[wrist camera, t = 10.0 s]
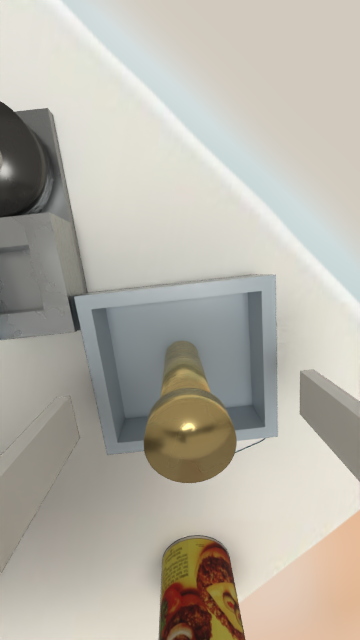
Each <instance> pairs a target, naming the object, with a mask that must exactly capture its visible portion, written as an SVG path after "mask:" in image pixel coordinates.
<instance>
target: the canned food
mask: <svg viewBox="0 0 360 640" xmlns="http://www.w3.org/2000/svg"><path fill="white" fill-rule="evenodd" d="M159 640H245V636H244V630H243V625H242V620H241V615H240V610H239V604H238V599H237V594H236V588H235V583H234V578H233V573H232V567H231V562H230V557H229V554H228V552H227V549H226V548H225V547H224V546H223V545H222V544H221V543H220V542H218V541H217V540H215V539H212V538H209V537H206V536H190V537H186V538H183V539H180V540H178V541H176V542H175V543H173V544H172V545H171V546H170V547H169V548H168V549H167V550H166V552H165V554H164V555H163V560H162V574H161V597H160V619H159Z"/></svg>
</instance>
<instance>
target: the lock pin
mask: <svg viewBox="0 0 360 640" xmlns="http://www.w3.org/2000/svg"><path fill="white" fill-rule="evenodd" d="M236 445H237V438H236V433H235V429H234V427H233V424H232V422H231V419H230V416H229V414H228V411H227V409H226V407H225V406H224V404H223V403H222V402H221V400H220V399H219V398H217V397H216V396H215V395H213V394H212V393H211V392H210V388H209V385H208V382H207V379H206V376H205V372H204V369H203V366H202V363H201V360H200V356H199V353H198V350H197V348H196V347H195V346H194V345H193V344H192V343H190V342H187V341H177V342H174V343H173V344H171V345H170V346H169V347H168V349H167V350H166V354H165V361H164V370H163V379H162V388H161V397H160V399H159V400H158V401H157V402H156V403H155V404H154V406H153V407H152V409H151V411H150V413H149V416H148V420H147V425H146V431H145V436H144V451H145V455H146V458H147V460H148V462H149V463H150V465H151V466H152V467H153V469H154V470H156V471H157V472H158V473H159V474H160V475H162V476H164V477H165V478H167V479H170V480H173V481H176V482H182V483H196V482H201V481H205V480H208V479H210V478H212V477H214V476H216V475H217V474H219V473H220V472H222V471H223V470H224V469H225V468H226V467H227V466H228V464H229V463H230V462H231V460H232V458H233V456H234V454H235V450H236Z"/></svg>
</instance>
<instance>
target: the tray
mask: <svg viewBox="0 0 360 640" xmlns="http://www.w3.org/2000/svg"><path fill="white" fill-rule="evenodd" d="M74 299H75V304H76V308H77V313H78V318H79V323H80V327H81V332H82V337H83V342H84V346H85V351H86V356H87V361H88V365H89V370H90V375H91V380H92V384H93V389H94V394H95V399H96V404H97V408H98V413H99V418H100V423H101V427H102V432H103V437H104V442H105V446H106V451H107V455H111V454H120V453H130V452H139V451H144V436H145V431H146V425H147V420H148V416H149V413H150V411H151V409H152V407H153V406H154V404H155V403H156V402H157V401H158V400H159V399H160V397H161V388H162V379H163V370H164V361H165V354H166V350H167V349H168V347H169V346H170V345H171V344H173V343H174V342H177V341H187V342H190V343H192V344H193V345H194V346H195V347H196V348H197V350H198V353H199V356H200V360H201V363H202V366H203V369H204V372H205V376H206V379H207V382H208V385H209V388H210V392H211V393H212V394H213V395H215V396H216V397H217V398H219V399H220V400H221V402H222V403H223V404H224V406H225V407H226V409H227V411H228V414H229V416H230V419H231V422H232V424H233V427H234V429H235V433H236V438H237V441H241V440H250V439H259V438H269V437H278V422H277V345H276V275H257V274H256V275H247V276H238V277H229V278H220V279H211V280H201V281H192V282H183V283H174V284H165V285H155V286H146V287H137V288H128V289H119V290H110V291H100V292H92V293H88V294H84V295H80V296H75V297H74Z"/></svg>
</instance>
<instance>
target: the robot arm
mask: <svg viewBox="0 0 360 640" xmlns="http://www.w3.org/2000/svg"><path fill="white" fill-rule="evenodd" d="M300 415H301V416H302V417H303V418H304V419H305V420H306V421H307V423H308V424H309V425H310V426H311V427H312V428H313V429H314V431H315V432H316V433H317V434H318V435H319V436H320V437H321V438H322V440H323V441H324V442H325V443H326V444H327V445H328V446H329V447H330V449H331V450H332V451H333V452H334V453H335V454H336V455H337V457H338V458H339V459H340V460H341V461H342V462H343V463H344V464H345V466H346V467H347V468H348V469H349V470H350V471H351V472H352V473H353V475H354V476H355V477H356V478H357V479H358V480H359V481H360V401H358V400H357V399H355V398H354V397H352V396H351V395H350V394H348V393H347V392H345V391H344V390H342V389H341V388H340V387H338V386H337V385H335V384H334V383H332V382H331V381H330V380H328V379H327V378H325V377H324V376H322V375H321V374H319V373H318V372H317V371H315V370H304V371H300ZM79 438H80V437H79V432H78V428H77V424H76V420H75V416H74V411H73V407H72V403H71V399H70V396H65V397H56V398H55V399H54V400H53V401H52V403H51V404H50V405H49V406H48V407H47V408H46V409H45V410H44V411H43V412H42V413H41V414H40V415H39V416H38V417H37V418H36V419H35V420H34V421H33V422H32V423H31V425H30V426H29V427H28V428H27V429H26V430H25V431H24V432H23V433H22V434H21V435H20V436H19V437H18V438H17V439H16V440H15V441H14V442H13V443H12V444H11V445H10V447H9V448H8V449H7V450H6V451H5V452H4V453H3V454H2V455H1V456H0V574H1V573H2V571H3V569H4V567H5V566H6V564H7V562H8V561H9V559H10V557H11V555H12V554H13V552H14V550H15V548H16V547H17V545H18V543H19V542H20V540H21V538H22V536H23V535H24V533H25V531H26V530H27V528H28V526H29V524H30V523H31V521H32V519H33V517H34V516H35V514H36V512H37V511H38V509H39V507H40V505H41V504H42V502H43V500H44V498H45V497H46V495H47V493H48V492H49V490H50V488H51V486H52V485H53V483H54V481H55V479H56V478H57V476H58V474H59V473H60V471H61V469H62V467H63V466H64V464H65V462H66V460H67V459H68V457H69V455H70V454H71V452H72V450H73V448H74V447H75V445H76V443H77V441H78V440H79Z"/></svg>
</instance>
